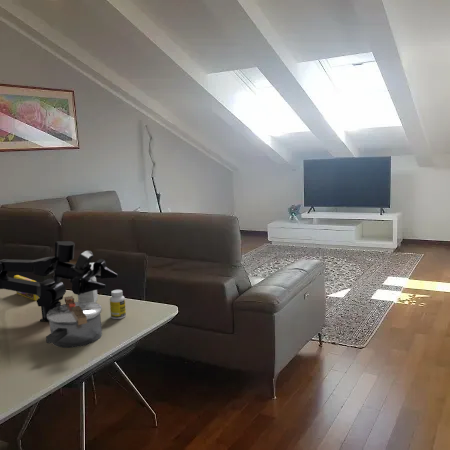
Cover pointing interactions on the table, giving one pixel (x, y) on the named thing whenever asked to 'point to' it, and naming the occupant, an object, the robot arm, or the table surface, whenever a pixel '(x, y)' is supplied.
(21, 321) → the table surface
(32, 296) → the candy box
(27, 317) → the table surface
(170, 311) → the table surface
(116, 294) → the supplement bottle
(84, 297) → the skincare box
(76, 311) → the lid
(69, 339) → the cooker pot
